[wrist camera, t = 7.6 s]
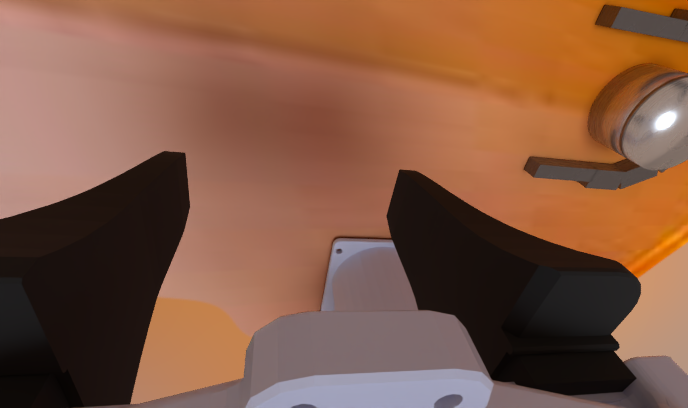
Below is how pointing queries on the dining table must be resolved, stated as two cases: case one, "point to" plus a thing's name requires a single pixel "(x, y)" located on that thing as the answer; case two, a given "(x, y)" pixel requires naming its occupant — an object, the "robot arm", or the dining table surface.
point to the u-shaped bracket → (626, 172)
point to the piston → (644, 116)
